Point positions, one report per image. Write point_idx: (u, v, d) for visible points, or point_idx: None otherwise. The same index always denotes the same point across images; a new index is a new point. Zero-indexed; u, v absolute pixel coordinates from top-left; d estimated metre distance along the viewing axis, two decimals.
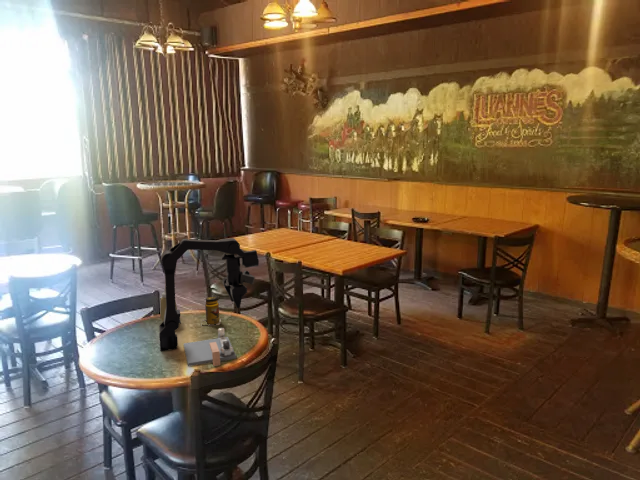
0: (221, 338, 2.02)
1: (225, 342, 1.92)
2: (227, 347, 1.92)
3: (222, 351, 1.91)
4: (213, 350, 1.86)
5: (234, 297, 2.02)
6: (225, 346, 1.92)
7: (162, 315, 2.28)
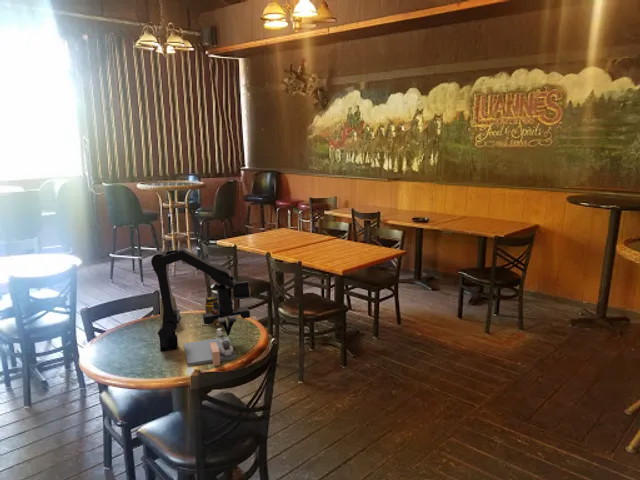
0: (220, 338, 2.02)
1: (225, 342, 1.92)
2: (227, 347, 1.92)
3: (222, 351, 1.91)
4: (213, 350, 1.86)
5: None
6: (225, 346, 1.92)
7: (162, 315, 2.28)
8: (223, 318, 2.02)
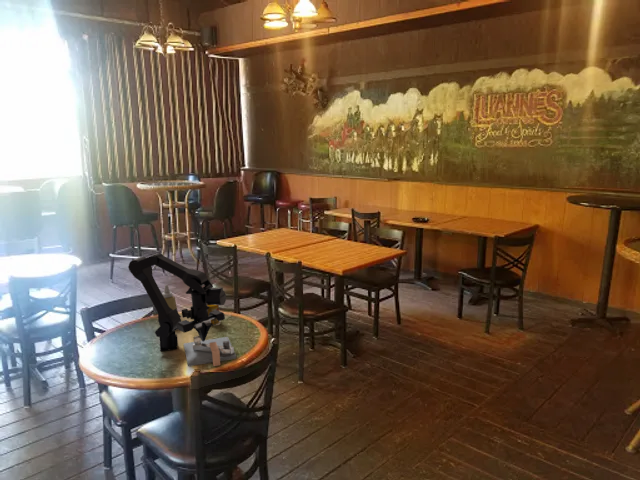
0: (202, 345, 1.96)
1: (226, 342, 1.92)
2: (229, 346, 1.93)
3: (227, 351, 1.91)
4: (213, 350, 1.86)
5: None
6: (228, 346, 1.92)
7: None
8: (200, 323, 1.95)
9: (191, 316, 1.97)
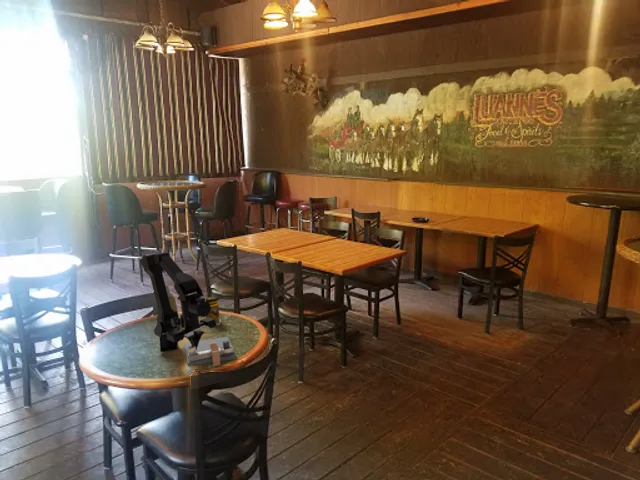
0: (200, 353, 1.88)
1: (226, 342, 1.92)
2: None
3: (231, 350, 1.92)
4: (213, 350, 1.86)
5: None
6: (229, 345, 1.93)
7: None
8: (192, 332, 1.87)
9: (181, 325, 1.88)
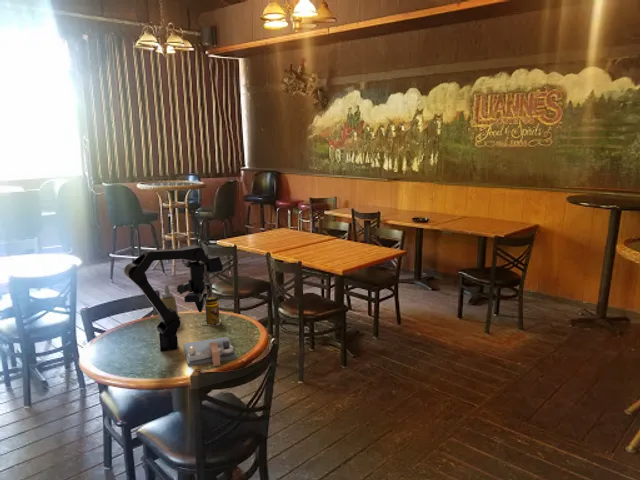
0: (200, 353, 1.88)
1: (226, 342, 1.92)
2: None
3: (231, 350, 1.92)
4: (213, 350, 1.86)
5: None
6: (229, 345, 1.93)
7: None
8: (202, 294, 2.06)
9: (191, 289, 2.05)
